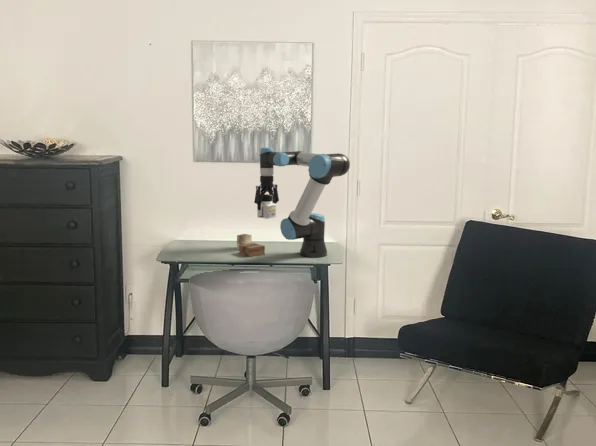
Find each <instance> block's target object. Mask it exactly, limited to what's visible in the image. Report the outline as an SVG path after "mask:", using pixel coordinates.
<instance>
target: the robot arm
mask: <svg viewBox="0 0 596 446" xmlns="http://www.w3.org/2000/svg"><path fill="white" fill-rule="evenodd" d="M275 166H277V167H285V166H299V167H300V166H301V167H302V166H303V167H308V168H307V169H308V170H307V171H308V176H309V179H308V182H307V183H306V186H305V188H304V190H303V192H302V193H301V197H299V198H300V199H299V200H298V202H297V204H296V207H295V209H294V210H291V212H290V213H289V215H288V217H287V218H286V217H285V218H283V219H281V221H280V233H281V235H282V236H283V237H284V238H285V239H286V240H290V241H292V240H293V241H294V240H297V239H302V240H303V241H302V243H301V247H300V250H299V255H300V256H302V257H305V258H323V257H326V256H327V255H328V249H327V246H326V242H325V231H326V230H325V229H326V228H325V227H326V225H325V224H326V221H325V220H326V219H325V215H323V214H320V213H315V212H313V211H314V208H315V206H317V205H316V204H317V202H318V200H319V198H320V196H321V194H322V193H323V191H324V189H325V187H326V186H328V185H329V184H330V183H331V181H332V179H333V178H335V177H341V176H344V175H346V174H347V173H348V172H349V170H350V167H351V161H350V159H349V157H348V156H347V155H345V154H343V153H313V152H305V151H302V150H296V151H275V150H274V148H273V147H261V148H260V150H259V175H260V176H259V182H260V185H255V197H254V201H253V202H254V204H256V205H257V206H256V208H257V209H258V216H262V204H261V203H262V200H263V197H264V194H267V192H268V194H269V195H272V203H273V204H276V205H277V204H278V202H279V201H280V198H279V193H278V184H275V183H273V182H274V175H275V174H274V167H275ZM257 209H256V210H257Z"/></svg>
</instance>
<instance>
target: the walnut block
mask: <svg viewBox="0 0 596 446" xmlns="http://www.w3.org/2000/svg"><path fill="white" fill-rule="evenodd" d="M265 249H266V248H265V245H263V244H259V243H255V242H252V243H250V244H243V245H239V249H238V251H239V252H238V253H239V255H240V256H241V255H242V256H245V257H248V258H253V257H254V256H255V257H258V256H265V253H266V252H265Z"/></svg>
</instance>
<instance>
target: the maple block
mask: <svg viewBox="0 0 596 446" xmlns="http://www.w3.org/2000/svg"><path fill="white" fill-rule="evenodd" d="M252 241H253V238H252V234H248V233H247V234H245V233H241V234H237V235H236V250H239V245H243V244H250V243H253V242H252Z"/></svg>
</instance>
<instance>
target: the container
mask: <svg viewBox="0 0 596 446" xmlns="http://www.w3.org/2000/svg"><path fill="white" fill-rule="evenodd" d="M261 204H262V216H258V209H256V211H257V213H256V214H257V218H258V219H266V220H268V219H273V218H276V217H277V203H276V204H273V202H272V195H269V193H268V194H267V193H265V194H264V197H263V200H262V203H261Z"/></svg>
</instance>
